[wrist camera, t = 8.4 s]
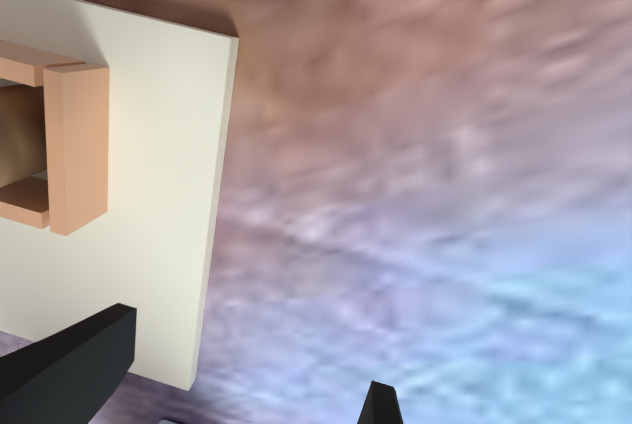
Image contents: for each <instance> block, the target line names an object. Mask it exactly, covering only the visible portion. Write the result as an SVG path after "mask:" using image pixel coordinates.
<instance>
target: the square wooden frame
mask: <svg viewBox="0 0 632 424" xmlns="http://www.w3.org/2000/svg"><path fill="white" fill-rule="evenodd" d="M0 78H3V79H7V80H11V81H14V82H18V83H22V84H26V85H30V86H33V87H37V86H44V105H45V127H46V149H47V172H48V180H44V179H41V178H37V177H34V176H29V177H27V178H24V179H21V180H19V181H16V182H14V183H11V184H8V185H6V186H3V187H1V188H0V217H2V218H6V219H9V220H12V221H16V222H19V223H23V224H26V225H29V226H33V227H36V228H40V229H44V228H45V227H47V226H49V225H50V232H53V233H57V234H60V235H63V236H68V235H69V234H71V233H73V232H74V231H76V230H78V229H79V228H81V227H83V226H84V225H86V224H88V223H89V222H91V221H93V220H94V219H96V218H98V217H99V216H101V215H103V214H104V213H106V212H108V147H109V81H110V67H106V66H102V65H98V64H94V63H91V64H85V61H82V60H78V59H74V58H71V57H67V56H63V55H59V54H55V53H51V52H47V51H43V50H39V49H35V48H31V47H27V46H23V45H19V44H15V43H11V42H8V41H4V40H0Z"/></svg>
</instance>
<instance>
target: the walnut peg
mask: <svg viewBox="0 0 632 424" xmlns="http://www.w3.org/2000/svg"><path fill="white" fill-rule="evenodd" d="M45 170H47V149H46V127H45V105H44V86H37V87H33V86H30V85H26V84H19V85H11V86H4V87H0V188H1V187H3V186H6V185H8V184H11V183H14V182H16V181H19V180H21V179H24V178H27V177H29V176H32V175H35V174H37V173H40V172H42V171H45Z"/></svg>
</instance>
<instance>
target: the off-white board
mask: <svg viewBox="0 0 632 424" xmlns="http://www.w3.org/2000/svg"><path fill="white" fill-rule="evenodd" d="M0 40H4V41H8V42H11V43H15V44H19V45H23V46H27V47H31V48H35V49H39V50H43V51H47V52H51V53H55V54H59V55H63V56H67V57H71V58H74V59H78V60H82V61H85V64H91V63H94V64H98V65H102V66H106V67H110V81H109V147H108V212H106V213H104V214H103V215H101V216H99V217H98V218H96V219H94V220H93V221H91V222H89V223H88V224H86V225H84V226H83V227H81V228H79V229H78V230H76V231H74V232H73V233H71V234H69V235H68V236H63V235H60V234H57V233H53V232H50V225H49V226H47V227H45V228H44V229H40V228H36V227H33V226H29V225H26V224H23V223H19V222H16V221H12V220H9V219H6V218H2V217H0V331H3V332H6V333H9V334H12V335H15V336H18V337H21V338H25V339H28V340H31V341H34V342H37V341H40V340H42V339H44V338H47V337H49V336H51V335H53V334H55V333H57V332H59V331H61V330H63V329H65V328H67V327H70V326H72V325H74V324H76V323H78V322H80V321H82V320H84V319H86V318H88V317H90V316H92V315H94V314H96V313H98V312H100V311H102V310H104V309H106V308H108V307H110V306H112V305H114V304H117V303H121V304H124V305H127V306H131V307H134V308H137V319H136V339H135V358H134V362H133V364H132V365H131V367H130V368H129V370H128V371H127V372H130V373H133V374H137V375H140V376H143V377H146V378H149V379H152V380H155V381H158V382H161V383H165V384H168V385H171V386H174V387H177V388H180V389H183V390H186V391H189V389H190V388H191V386H192V384H193V383H194V381H195V379H196V373H197V365H198V357H199V349H200V342H201V334H202V326H203V318H204V310H205V303H206V295H207V287H208V279H209V271H210V264H211V256H212V248H213V240H214V232H215V225H216V217H217V209H218V201H219V193H220V186H221V178H222V170H223V162H224V154H225V147H226V139H227V131H228V123H229V115H230V107H231V100H232V92H233V84H234V76H235V68H236V61H237V53H238V45H239V38H237V37H233V36H229V35H225V34H221V33H217V32H212V31H208V30H204V29H200V28H196V27H192V26H187V25H183V24H179V23H175V22H171V21H167V20H162V19H158V18H154V17H150V16H146V15H142V14H137V13H133V12H129V11H125V10H121V9H117V8H112V7H108V6H104V5H100V4H96V3H92V2H87V1H83V0H0ZM19 84H22V83H18V82H14V81H11V80H7V79H3V78H0V87H4V86H11V85H19ZM32 176H34V177H37V178H41V179H44V180H48V172H47V170H45V171H42V172H40V173H37V174H35V175H32Z"/></svg>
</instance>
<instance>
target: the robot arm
mask: <svg viewBox="0 0 632 424" xmlns="http://www.w3.org/2000/svg"><path fill="white" fill-rule="evenodd" d="M136 319H137V308H134V307H131V306H127V305H124V304H121V303H117V304H114V305H112V306H110V307H108V308H106V309H104V310H102V311H100V312H98V313H96V314H94V315H92V316H90V317H88V318H86V319H84V320H82V321H80V322H78V323H76V324H74V325H72V326H70V327H67V328H65V329H63V330H61V331H59V332H57V333H55V334H53V335H51V336H49V337H47V338H44V339H42V340H40V341H37V342H35V343H33V344H30V345H28V346H26V347H24V348H21V349H19V350H17V351H14V352H12V353H10V354H7V355H5V356H2V357H0V424H88V423H89V421H90V420H91V419H92V418H93V417H94V415H95V414H96V413H97V412H98V411H99V409H100V408H101V407H102V406H103V405H104V403H105V402H106V401H107V400H108V399H109V397H110V396H111V395H112V394H113V392H114V391H115V390H116V388H117V387H118V385H119V384H120V382H121V381H122V379H123V378H124V376H125V375H126V373H127V371H128V370H129V368H130V367H131V365H132V364H133V362H134V358H135V339H136ZM158 424H177V423H174V422H171V421H168V420H161V421H160V422H159V423H158ZM357 424H403V420H402V416H401V413H400V408H399V404H398V400H397V395H396V391H395V389H394V387H392V386H388V385H385V384H382V383H379V382H375V381H372V382H371V385H370V388H369V391H368V394H367V397H366V400H365V402H364V405H363V408H362V411H361V414H360V417H359V420H358V422H357Z"/></svg>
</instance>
